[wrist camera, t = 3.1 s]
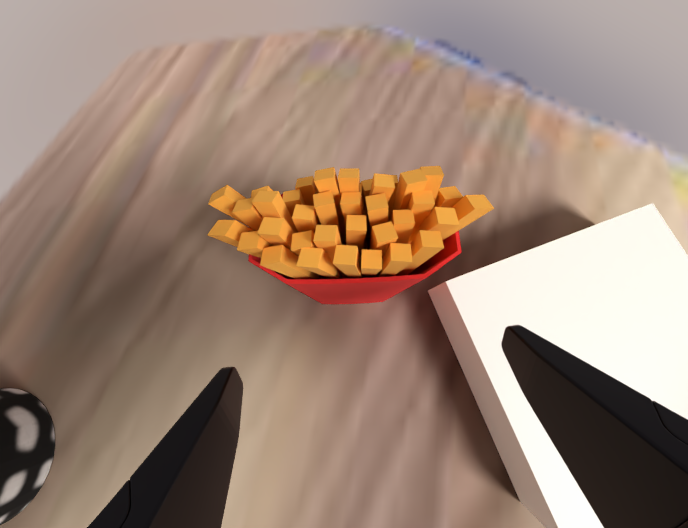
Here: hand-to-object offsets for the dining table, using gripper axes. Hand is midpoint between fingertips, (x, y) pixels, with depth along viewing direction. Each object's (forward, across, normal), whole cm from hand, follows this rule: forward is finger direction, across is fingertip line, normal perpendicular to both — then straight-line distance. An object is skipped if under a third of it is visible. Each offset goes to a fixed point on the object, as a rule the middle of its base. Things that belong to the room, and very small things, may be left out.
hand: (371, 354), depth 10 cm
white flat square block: (+6, -14, +10) cm, 18 cm away
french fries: (+11, 0, +5) cm, 12 cm away
